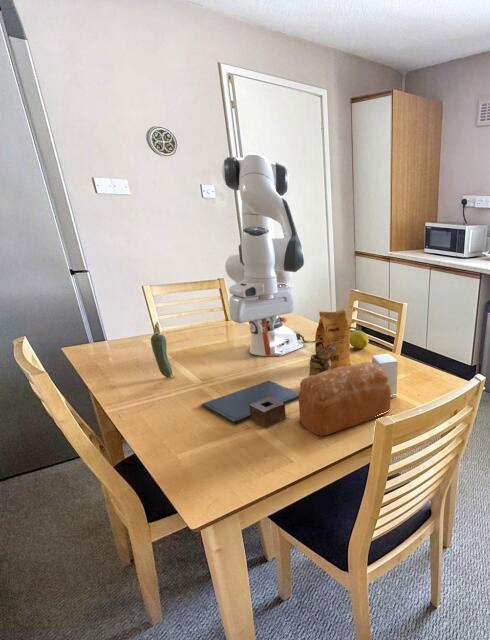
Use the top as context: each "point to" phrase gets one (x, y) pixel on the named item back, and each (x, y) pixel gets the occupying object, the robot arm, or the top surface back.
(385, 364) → the small box
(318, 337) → the coffee package
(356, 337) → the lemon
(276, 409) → the holder
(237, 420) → the tablet
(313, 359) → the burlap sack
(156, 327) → the vegetable
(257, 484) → the top surface
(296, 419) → the top surface
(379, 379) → the bread
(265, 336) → the red rod
